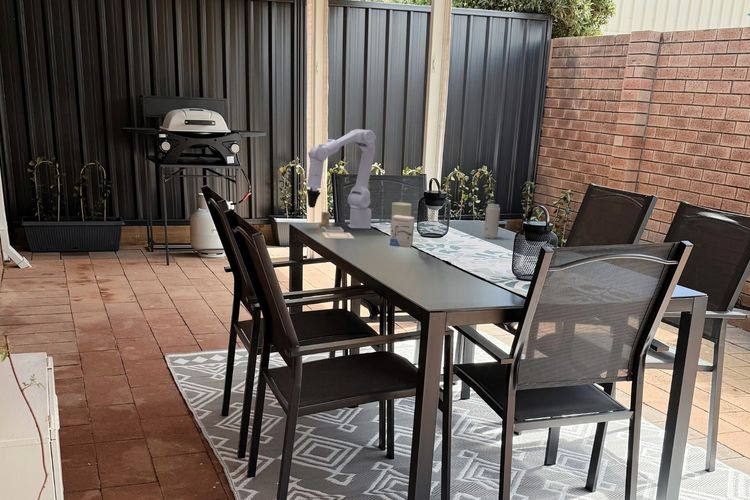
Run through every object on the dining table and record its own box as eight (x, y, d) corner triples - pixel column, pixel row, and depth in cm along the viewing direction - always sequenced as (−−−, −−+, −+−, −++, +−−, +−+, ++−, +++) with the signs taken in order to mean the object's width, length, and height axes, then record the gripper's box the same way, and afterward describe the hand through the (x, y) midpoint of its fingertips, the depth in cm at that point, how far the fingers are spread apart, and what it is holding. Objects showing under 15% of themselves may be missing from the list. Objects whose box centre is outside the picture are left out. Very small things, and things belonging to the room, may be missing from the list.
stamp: (329, 226, 308) (330, 211, 307) (331, 227, 303) (331, 213, 302) (318, 225, 307) (319, 211, 305) (320, 227, 302) (320, 213, 301)
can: (390, 226, 317) (391, 200, 314) (409, 227, 317) (411, 201, 314) (390, 229, 307) (392, 203, 305) (410, 230, 308) (412, 204, 305)
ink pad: (340, 229, 301) (340, 226, 300) (343, 232, 293) (343, 229, 293) (322, 228, 299) (322, 226, 299) (325, 232, 291) (325, 229, 291)
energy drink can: (483, 236, 303) (486, 203, 300) (496, 237, 303) (499, 204, 300) (484, 238, 298) (487, 205, 295) (497, 239, 297) (501, 206, 294)
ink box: (389, 245, 271) (391, 216, 269) (392, 243, 276) (394, 214, 274) (410, 247, 269) (412, 218, 267) (413, 245, 274) (415, 216, 271)
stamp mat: (349, 233, 291) (349, 232, 291) (354, 239, 280) (354, 237, 280) (321, 233, 288) (321, 232, 288) (325, 238, 277) (325, 237, 277)
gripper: (305, 173, 294) (301, 204, 296) (306, 174, 280) (302, 207, 282) (321, 175, 296) (317, 206, 297) (323, 176, 281) (319, 209, 283)
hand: (311, 206), depth 290 cm, fingers open, 7 cm apart
